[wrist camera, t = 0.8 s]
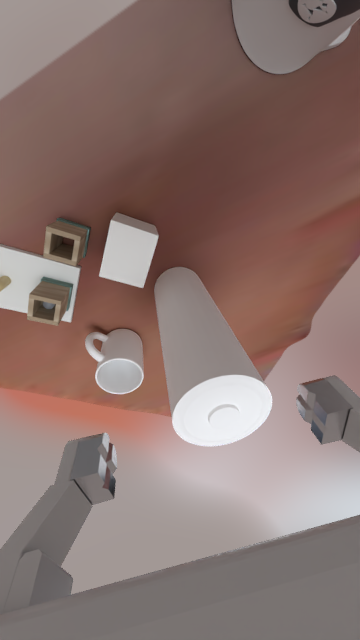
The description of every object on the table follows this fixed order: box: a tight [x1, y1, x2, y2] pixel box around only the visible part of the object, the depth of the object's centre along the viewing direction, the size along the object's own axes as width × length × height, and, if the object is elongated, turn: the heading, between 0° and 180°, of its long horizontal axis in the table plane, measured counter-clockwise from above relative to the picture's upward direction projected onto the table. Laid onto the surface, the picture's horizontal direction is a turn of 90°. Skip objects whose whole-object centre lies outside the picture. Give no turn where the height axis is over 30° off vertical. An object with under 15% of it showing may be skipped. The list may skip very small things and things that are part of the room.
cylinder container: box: [154, 267, 272, 446], centre depth 35 cm, size 9×9×30 cm
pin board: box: [0, 244, 81, 322], centre depth 41 cm, size 11×14×6 cm
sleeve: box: [43, 218, 91, 266], centre depth 38 cm, size 5×5×7 cm
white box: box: [99, 212, 159, 288], centre depth 38 cm, size 8×7×9 cm
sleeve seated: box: [27, 277, 73, 326], centre depth 40 cm, size 5×5×7 cm
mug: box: [85, 329, 143, 394], centre depth 47 cm, size 12×8×10 cm
